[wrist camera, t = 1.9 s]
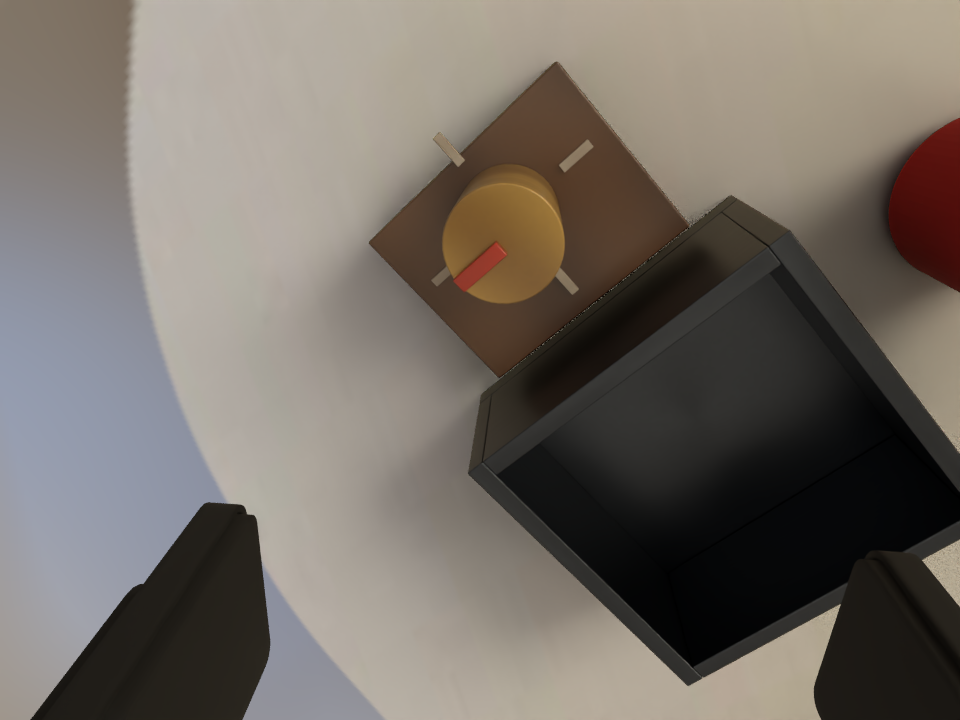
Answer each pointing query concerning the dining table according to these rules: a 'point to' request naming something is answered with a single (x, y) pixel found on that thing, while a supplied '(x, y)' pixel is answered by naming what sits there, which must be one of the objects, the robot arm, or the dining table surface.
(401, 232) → the panel
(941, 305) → the dining table surface
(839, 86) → the dining table surface
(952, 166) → the beverage can
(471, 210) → the tap knob
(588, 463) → the basin
